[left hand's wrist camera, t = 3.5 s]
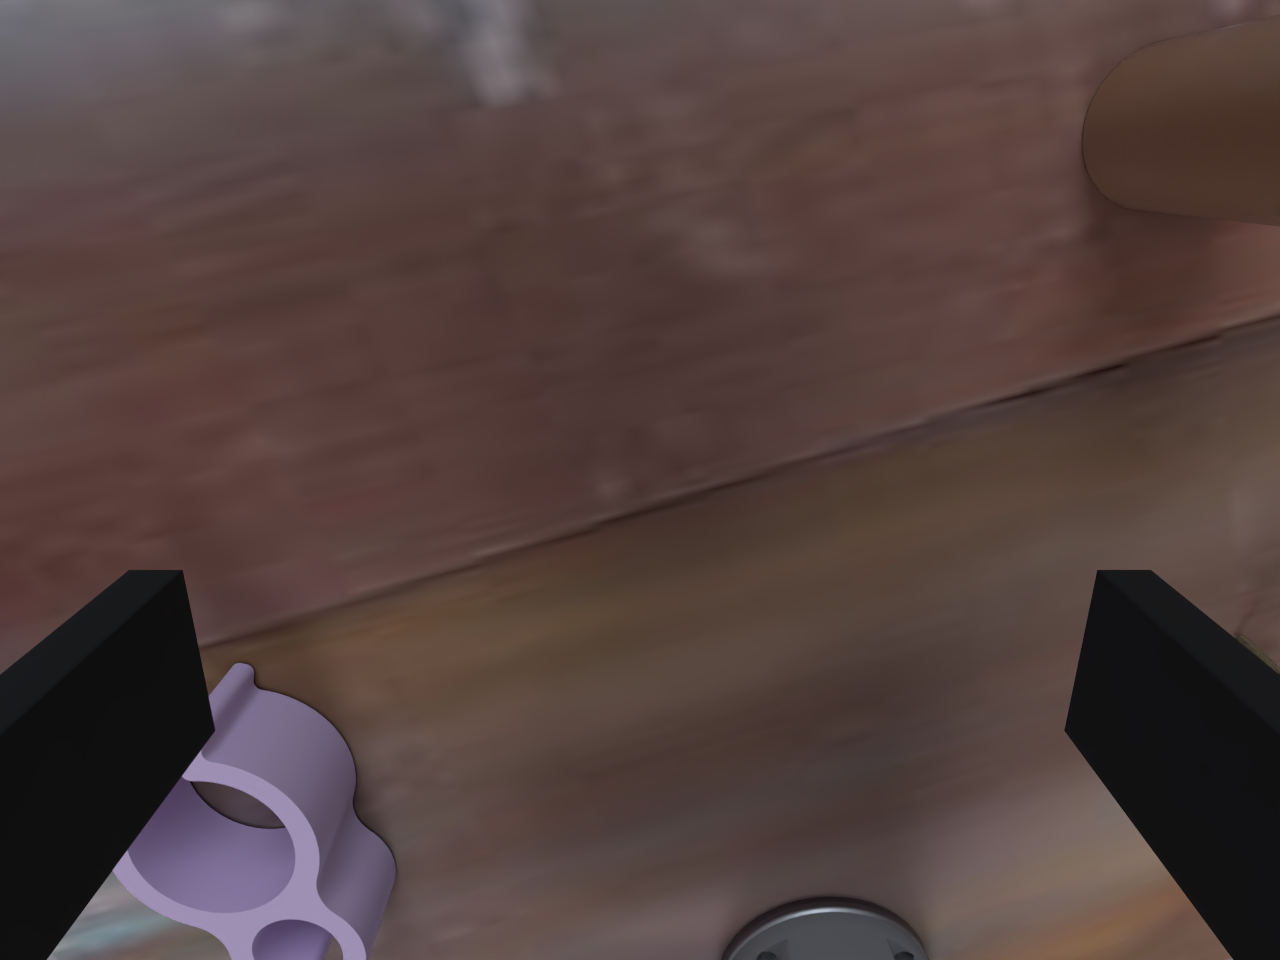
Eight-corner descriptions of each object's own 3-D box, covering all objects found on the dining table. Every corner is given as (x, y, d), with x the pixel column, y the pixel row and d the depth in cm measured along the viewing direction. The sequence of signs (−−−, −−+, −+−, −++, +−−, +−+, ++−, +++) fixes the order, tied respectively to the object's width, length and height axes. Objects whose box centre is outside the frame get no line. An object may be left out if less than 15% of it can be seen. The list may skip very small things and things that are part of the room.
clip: (440, 873, 60) (416, 960, 53) (288, 932, 62) (247, 1023, 55) (276, 645, 54) (225, 713, 47) (112, 719, 55) (42, 794, 49)
